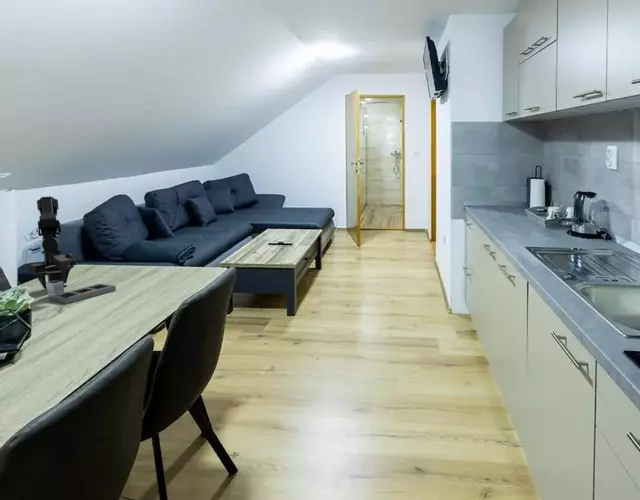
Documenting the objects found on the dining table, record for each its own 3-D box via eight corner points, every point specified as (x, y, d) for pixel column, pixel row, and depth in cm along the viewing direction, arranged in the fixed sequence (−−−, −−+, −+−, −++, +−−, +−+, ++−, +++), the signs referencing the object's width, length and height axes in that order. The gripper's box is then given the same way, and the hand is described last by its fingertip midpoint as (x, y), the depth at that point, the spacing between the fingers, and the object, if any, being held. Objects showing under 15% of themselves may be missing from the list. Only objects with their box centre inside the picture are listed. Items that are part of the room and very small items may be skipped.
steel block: (47, 296, 241) (46, 282, 240) (57, 294, 245) (56, 279, 244) (54, 297, 239) (53, 283, 238) (64, 295, 243) (63, 280, 242)
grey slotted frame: (50, 301, 233) (49, 296, 233) (100, 288, 253) (99, 283, 253) (66, 304, 228) (65, 298, 228) (115, 290, 248) (115, 285, 248)
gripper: (42, 253, 227) (46, 292, 230) (83, 245, 243) (87, 282, 245) (25, 251, 233) (29, 289, 235) (66, 244, 248) (70, 280, 251)
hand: (55, 285), depth 242 cm, fingers open, 9 cm apart
